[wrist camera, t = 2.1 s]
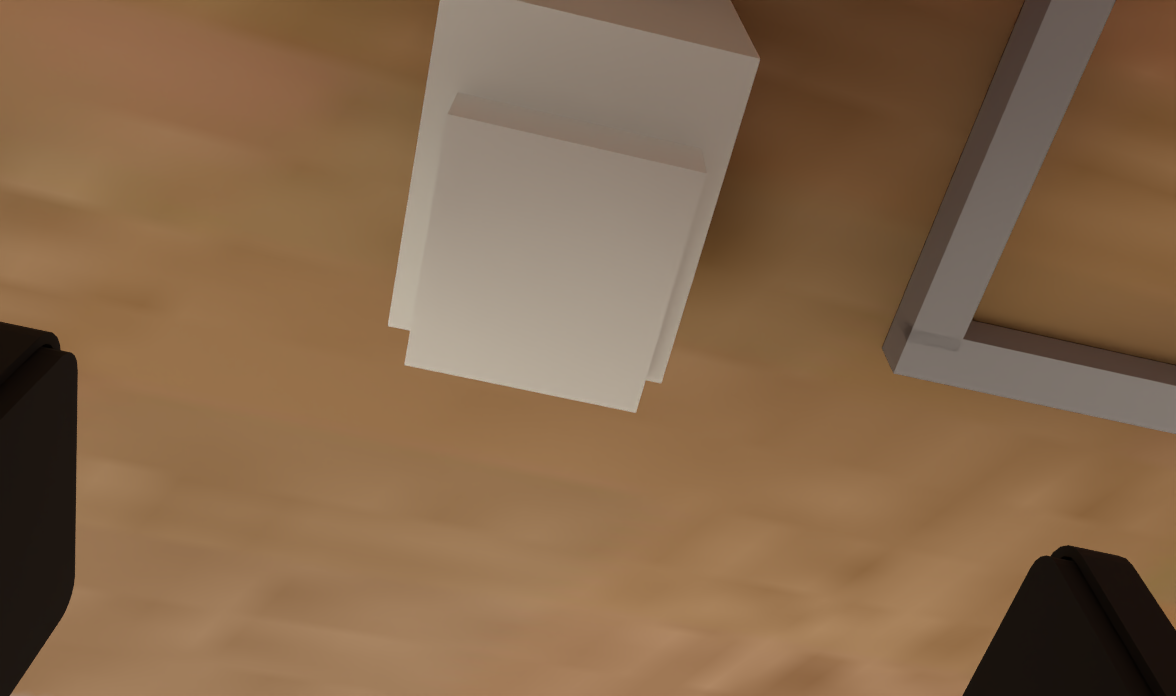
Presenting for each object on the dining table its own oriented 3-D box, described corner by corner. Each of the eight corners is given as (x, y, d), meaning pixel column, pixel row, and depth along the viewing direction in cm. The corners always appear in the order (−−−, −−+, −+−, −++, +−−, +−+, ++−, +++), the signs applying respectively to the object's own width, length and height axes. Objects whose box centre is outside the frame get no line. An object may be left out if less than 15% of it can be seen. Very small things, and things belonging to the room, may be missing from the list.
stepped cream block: (483, -71, 22) (431, -3, 15) (724, -12, 22) (770, 78, 16) (435, 204, 24) (374, 358, 18) (650, 251, 25) (664, 418, 19)
